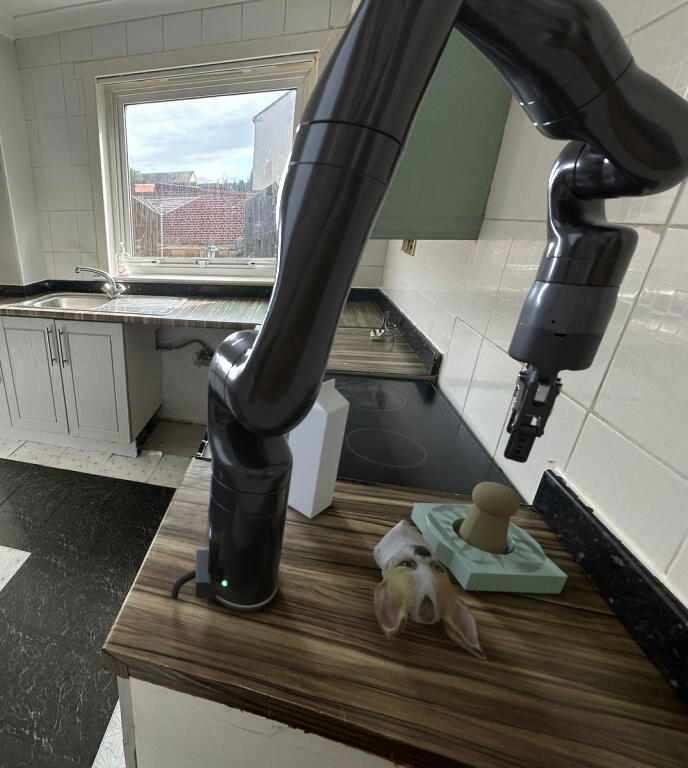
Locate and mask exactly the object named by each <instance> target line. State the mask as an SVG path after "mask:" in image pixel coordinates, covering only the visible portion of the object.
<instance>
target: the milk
mask: <svg viewBox="0 0 688 768" xmlns="http://www.w3.org/2000/svg"><path fill="white" fill-rule="evenodd" d="M335 385H336V379H335V378H332V379H329V380H326V381H323V382H322V385H321V388H320V391H319V394H318V397H317V399H316V401H315V403H314V405H313V407H312V409H311V411H310V412H309V414H308V415H307V416H306V418H305V419H304V420H303V421H302V422H301V423H300V424H299V425H298V426H297V427H296V428H294V429H293V430H292V431H290V432H289V436H288V444H289V447H290V449H291V452H292V455H293V469H292V476H291V484H290V491H289V499H288V506H290V507H291V508H293V509H294V510H296V511H298V512H299V513H301V514H302V515H304V516H306V517H307V518H309V519H310V520H311V519H313V518H314V517H316V516H317V515H318V514H320V513H321V512H322V511H324V510H326V509H327V508H328V507H330V506H331V505H332V503H333V497H334V491H335V487H336V481H337V475H338V471H339V465H340V459H341V453H342V448H343V444H344V443H343V442H344V437H345V431H346V427H347V420H348V415H349V410H350V402H349V401H348V399H346V398H345V397H344V396H343V395H342V394H341V393H340V392H339V391H338V389H336V388H335V387H336V386H335Z"/></svg>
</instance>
